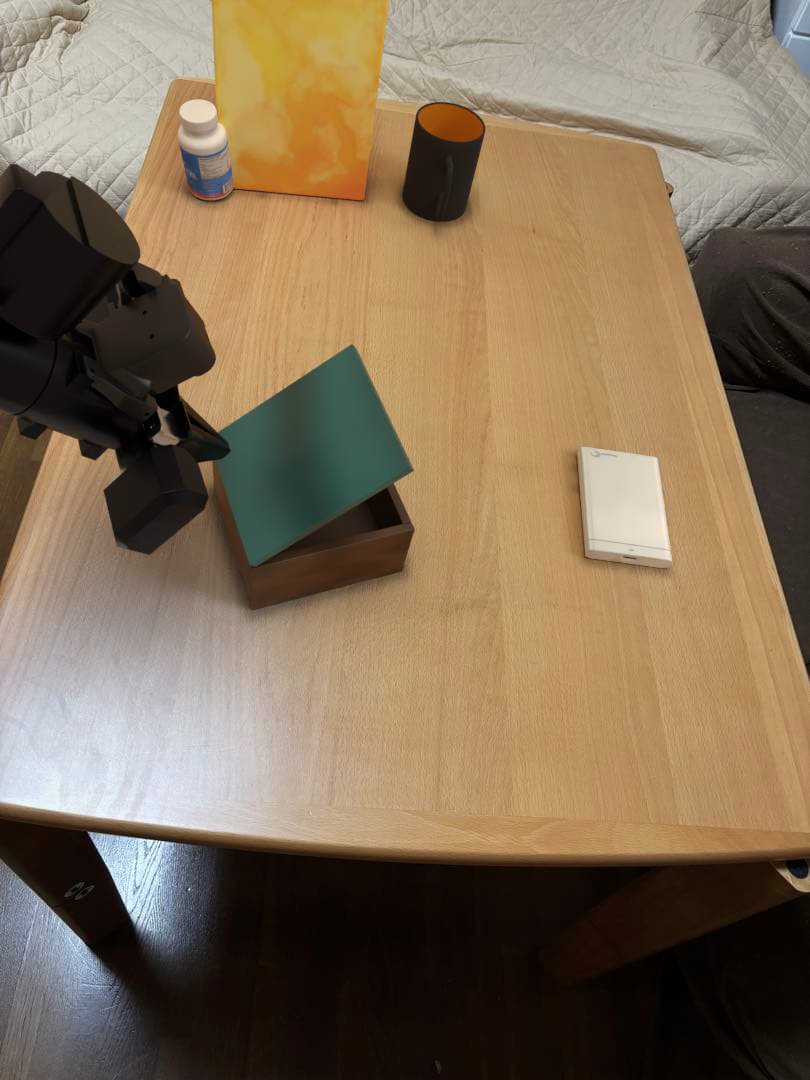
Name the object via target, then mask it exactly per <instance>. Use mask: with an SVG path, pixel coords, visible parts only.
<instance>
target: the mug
mask: <svg viewBox="0 0 810 1080" xmlns="http://www.w3.org/2000/svg"><path fill="white" fill-rule="evenodd" d="M485 134H486V124H485V122H484V120H483V119H482V117H481V116H479V115H478V114H477V113H476V112H475V111H474V110H472V109H470V108H468V107H466V106H464V105H460V104H457V103H454V102H449V101H448V102H447V101H434V102H430V103H426V104H424V105H422V106H421V107H419V108H418V110H417V111H416V113H415V120H414V124H413V130H412V135H411V141H410V142H411V143H410V147H409V152H408V158H407V163H406V164H407V165H406V170H405V177H404V184H403V188H402V195H401V196H402V202H403V203H404V206H405V207H406V208H407V209H408V211H410V212H412V213H413V214H414V215H416V216H417V217H420V218H422V219H425V220H429V221H433V222H450V221H454V220H456V219H459V218H460V217H462V216H463V215H464V213H465V211H466V210H467V206H468V202H469V199H470V194H471V190H472V187H473V182H474V178H475V175H476V174H475V173H476V170H477V167H478V162H479V158H480V155H481V150H482V146H483V142H484V139H485Z"/></svg>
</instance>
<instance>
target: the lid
mask: <svg viewBox="0 0 810 1080" xmlns="http://www.w3.org/2000/svg"><path fill="white" fill-rule="evenodd" d="M217 432H218V433H219V434H220V435H221V436H222V437H223V438H224V439H225V440H226V441H227V442H228V444H229V447H230V450H231V452H230V453H229V454H228V455H227V456H225V457H224V458H223V459H220V460H215V461H216V464H217V467H218V470H219V473H220V476H221V480H222V483H223V486H224V489H225V492H226V495H227V498H228V501H229V504H230V507H231V510H232V513H233V516H234V519H235V522H236V525H237V528H238V531H239V534H240V537H241V540H242V544H243V547H244V550H245V553H246V556H247V559H248V562H249V564H250V565H252V566H254V567H256V566H258V565H259V564H261V563H263V562H264V561H266V560H268V559H269V558H271V557H273V556H274V555H276V554H278V553H279V552H281V551H283V550H284V549H286V548H287V547H289V546H291V545H292V544H294V543H296V542H297V541H299V540H301V539H302V538H304V537H306V536H307V535H309V534H311V533H312V532H314V531H316V530H317V529H319V528H321V527H322V526H324V525H325V524H327V523H329V522H330V521H332V520H334V519H335V518H337V517H339V516H340V515H342V514H344V513H345V512H347V511H349V510H350V509H352V508H354V507H355V506H357V505H358V504H360V503H362V502H363V501H365V500H367V499H368V498H370V497H372V496H373V495H375V494H377V493H378V492H380V491H382V490H383V489H385V488H387V487H388V486H390V485H391V484H393V483H394V484H395V483H396V482H399V480H401V479H403V478H405V477H406V476H408V475H410V474H412V473H413V472H414V471H415V469H414V467H413V464H412V463H411V461H410V459H409V456H408V454H407V452H406V451H405V448H404V446H403V444H402V442H401V440H400V436H399V435H398V433H397V431H396V428H395V427H394V424H393V423H392V420H391V419H390V416H389V414H388V411H387V409H386V407H385V405H384V403H383V402H382V399H381V397H380V395H379V392H378V390H377V389H376V386H375V385H374V381H373V380H372V377H371V376H370V374H369V372H368V369H367V368H366V365H365V363H364V361H363V359H362V357H361V355H360V352H359V351H358V349H357V347H356V346H355V345H354V344H353V343H351V344H349V345H348V346H346V347H345V348H344V349H342V350H340V351H339V352H338V353H335V354H334V355H333V356H331V357H330V358H328V359H326V360H325V361H324V362H322V363H321V364H319V365H318V366H316V367H314V368H313V369H312V370H310V371H308V372H307V373H305V374H304V375H302V376H301V377H300V378H298V379H296V380H295V381H293V382H292V383H290V384H289V385H287V386H286V387H284V388H283V389H281V390H279V391H278V392H277V393H275V394H274V395H272V396H271V397H269V398H267V399H266V400H264V401H263V402H262V403H260V404H258V405H257V406H255V407H254V408H251V410H249V411H248V412H246V413H245V414H243V415H241V416H240V417H239V418H237V419H236V420H234V421H233V422H231V423H229V424H228V425H227V426H225V427H223V428H222V429H220V430H219V431H217Z"/></svg>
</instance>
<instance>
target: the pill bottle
mask: <svg viewBox="0 0 810 1080" xmlns="http://www.w3.org/2000/svg"><path fill="white" fill-rule="evenodd" d="M178 110H179V111H178V112H179V119H180V126H179V127H178V130H177V139H178V140H177V141H178V145H179V151H180V154H181V159H182V164H183V168H184V174H185V178H186V182H187V187H188V189H189V192H190V193H191V194H192V195H193V196H194V197H196V198H198V199H200V200H203V201H217V200H218V201H219V200H222V199H224V198H225V197H227V196H228V195H230V194H231V193H232V191H233V186H234V179H233V173H232V167H231V160H230V153H229V146H228V140H227V133H226V130H225V128H224V126H223V125H222V124H220V123H218V116H217V110H216V105H215V104H213V103H212V102H210V101H209V100H206V99H199V98H197V99H191V100H188V101H186V102H184V103H183V104H181V106H180V107H179V109H178Z"/></svg>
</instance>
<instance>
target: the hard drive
mask: <svg viewBox="0 0 810 1080" xmlns="http://www.w3.org/2000/svg"><path fill="white" fill-rule="evenodd" d="M576 456H577V457H576V458H577V471H578V472H577V473H578V485H579V496H580V506H581V507H580V508H581V521H582V532H583V543H584V544H583V545H584V557H586V558H588V559H594V560H600V561H606V562H614V563H623V564H629V565H637V566H643V567H650V568H657V569H668V568H669V567H670V566H671V565H672V564H673V555H672V548H671V541H670V536H669V527H668V520H667V513H666V506H665V499H664V494H663V493H664V492H663V486H662V478H661V472H660V465H659V459H658V458H657V457H656V456H652V455H644V454H639V453H631V452H624V451H619V450H618V451H617V450H612V449H603V448H596V447H592V446H591V447H590V446H581V447H580V448H579V450H578V451H577V453H576Z"/></svg>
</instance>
